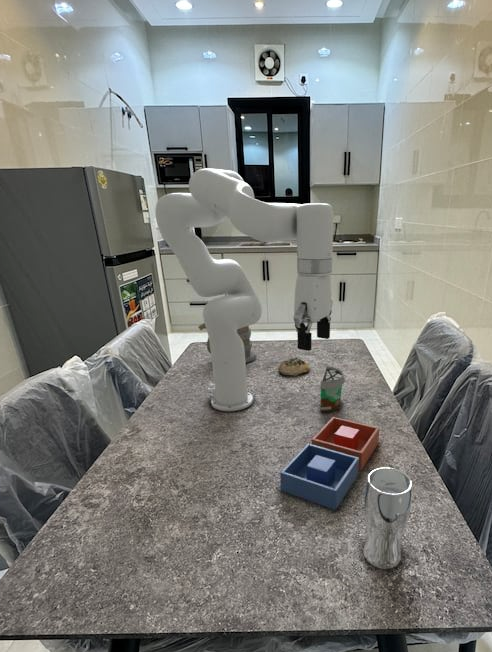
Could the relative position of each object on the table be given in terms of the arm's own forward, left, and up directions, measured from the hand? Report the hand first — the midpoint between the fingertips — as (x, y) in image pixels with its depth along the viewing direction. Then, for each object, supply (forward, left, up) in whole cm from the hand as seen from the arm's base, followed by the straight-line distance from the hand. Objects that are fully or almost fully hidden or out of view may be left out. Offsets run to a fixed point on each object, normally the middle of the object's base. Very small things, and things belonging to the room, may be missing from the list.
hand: (314, 343), depth 89 cm
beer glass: (+27, -29, -24) cm, 47 cm away
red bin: (+10, -3, -24) cm, 26 cm away
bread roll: (-26, +36, -24) cm, 51 cm away
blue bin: (+10, -17, -24) cm, 31 cm away
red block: (+10, -3, -24) cm, 26 cm away
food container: (-2, +17, -24) cm, 30 cm away
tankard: (-55, +35, -24) cm, 70 cm away
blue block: (+10, -17, -24) cm, 31 cm away
